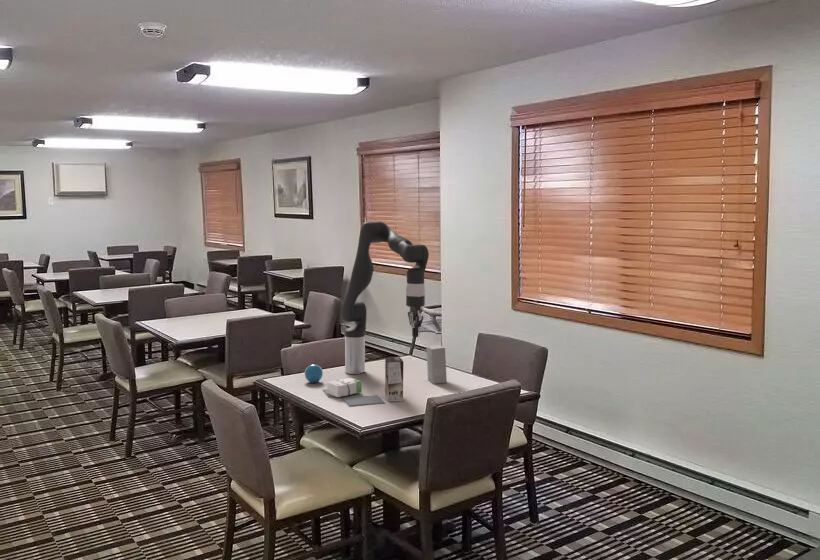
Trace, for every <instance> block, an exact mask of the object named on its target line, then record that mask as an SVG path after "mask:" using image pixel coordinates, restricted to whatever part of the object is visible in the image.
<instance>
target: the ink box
mask: <svg viewBox="0 0 820 560" xmlns="http://www.w3.org/2000/svg"><path fill="white" fill-rule="evenodd" d="M326 385H327V387H326V389H327V393H328V394H330V395H333V396H335V397H334V398H341V397H342V398H343V397H347V396H346V395H350V396H352V395H354V394H360V393H362V390H363V389H362V387H363V386H362V381H361V380H359V379H356V378H352V377H348V378H343V379H337V380H331V381H327V382H326Z"/></svg>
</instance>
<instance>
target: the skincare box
mask: <svg viewBox="0 0 820 560" xmlns="http://www.w3.org/2000/svg"><path fill="white" fill-rule="evenodd" d="M425 349H426V366H427V381H429V382H430V383H432V384H435V385H437V384H447V383H448V381H447V379H448V378H447V359H446V358H447V357H446V348H445V347H444V346H442V345H440V344H439V345H429V346H428V345H427V346H426V348H425Z"/></svg>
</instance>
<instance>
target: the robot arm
mask: <svg viewBox="0 0 820 560" xmlns="http://www.w3.org/2000/svg"><path fill="white" fill-rule="evenodd" d="M375 243H386V244H387V245H388V247H389V249H390V251H392V252H393V253H396V254H397V255H399V256H400V258H401V259H402V260H404V262H406V263H411V264H413V263H415V264H414V266H413V267H412V268H409V269H408V270H407V272H406V286H405V287H406V289H405V290H406V291H405V297H406V299H405V305H406V306H407V307H408V308H409V311H408V312H407V316H408V322H409V326H411V336H412V337H413V338H418V337H419V329H420V328H421V327H422V323H423V321H424V316H423V315H422V309H421V308H423V307H425V305H426V304H425V303H426V301H425V299H426V289H425V272H426V269H427V265H428V262H429V261H428V260H429V255H430V253H429V249H428V248H427V246H426V245H424V244H413V243H412V242H411V241H410V240H409V239H407V238H405V237H403V236H401V235H399V234H398V233H397V232H395V231H394V230H393V229H392V228H391V227H389V225H387V224H386V223H385V222H383V221H376V220H375V221H365V222H363V223H362V225H361V227H360V231H359V237H358V244H357V250H356V254H355V260H354V263H353V266H352V271H351V275H350V279H349V280H350V281H349V284H348V288H347V291H346V293H345V297H344V299H343V301H342V304H341V309H340V315H341V320H342V321H344V322H346V323H351V322H352V323H353V325H351V326H350V327H348V328H346V329H345V331H344V369H345V370H344V372H345V374H350V375H358V374H359V375H360V373H361V374H364V373H365V372H366V368H365V367H366V360H365V359H366V352H365V351H366V346H365V345H366V341H365V339H366V338H365V337H366V329H367V328H366V327H367V306H366V304H365V302H364V301H362V300H361V301H360V300H359V301H357V299H358V298H359V296H360V295H361V294H362V293H363V292H364V290H366V289H367V288H368V286H369V285H370V283H371V282H372V279H373V278H372V277H373V275H374V264H373V262H372V259H371V256H370V253H369V252H370V246H371V244H375ZM363 372H364V373H363Z"/></svg>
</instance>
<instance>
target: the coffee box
mask: <svg viewBox="0 0 820 560" xmlns="http://www.w3.org/2000/svg"><path fill="white" fill-rule="evenodd" d="M384 360H385V361H384V375H385V376H384V377H385V378H384V381H385V382H384V383H385V385H384V389H385V390H384V394H385V395H384V396H385V398H386V400H387V402H404V361H403V359H402V358H401V357H400V356H392V357H385V358H384Z"/></svg>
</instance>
